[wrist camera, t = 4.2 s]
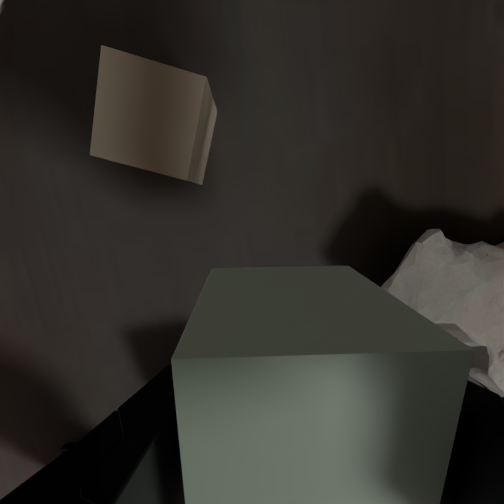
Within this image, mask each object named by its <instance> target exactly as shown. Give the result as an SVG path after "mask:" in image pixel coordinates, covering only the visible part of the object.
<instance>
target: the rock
mask: <svg viewBox="0 0 504 504" xmlns="http://www.w3.org/2000/svg"><path fill="white" fill-rule="evenodd" d="M381 288H382V289H384V290H385V291H387V292H388V293H390V294H391V295H393V296H394V297H396V298H397V299H399V300H400V301H402V302H403V303H405V304H406V305H408V306H409V307H411V308H412V309H414V310H415V311H417V312H418V313H420V314H421V315H423V316H424V317H426V318H427V319H429V320H430V321H432V322H433V323H435V324H436V325H438V326H439V327H441V328H442V329H443V330H445V331H446V332H448V333H449V334H451V335H452V336H454V337H455V338H457V339H458V340H460V341H461V342H463V343H464V344H466V345H467V346H469V347H470V348H472V349H473V350H474V353H473V358H472V362H471V367H470V371H469V375H470V377H472V378H474V379H475V380H477V381H479V382H480V383H482V384H483V385H485V386H486V387H487V388H489V389H490V390H491V391H492V392H494V393H497V394H499V395H500V396H501V397H504V242H503V243H501V244H498V245H496V246H493V245H489V244H487V243H485V242H483V241H480V242H477V243H473V244H462V243H458V242H454V241H451V240H449V239H447V238H445V237H444V234H443V232H442V231H441V230H440V229H429V230H426V232H425V233H424V234H423V235H422V236H421V237H420V238H419V239H418V240H417V241H416V242H414V243H413V244H412V246H411V247H410V249H409V250H408V252H407V253H406V255H405V256H404V258H403V260H402V261H401V263H400V264H399V266H398V268H397V269H396V271H395V272H394V274H393V275H392V276H391V277H390V278H389V279H388V280H387V281H386V282H385V283H384V284H383V285H382V286H381ZM501 309H502V310H501ZM502 350H503V351H502ZM501 356H502V357H501Z"/></svg>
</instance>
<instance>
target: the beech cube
mask: <svg viewBox="0 0 504 504" xmlns="http://www.w3.org/2000/svg"><path fill="white" fill-rule="evenodd" d="M216 115H217V109H216V106H215V102H214V99H213V96H212V93H211V89H210V86H209V83H208V80H207V77H205V76H202V75H199V74H196V73H192V72H189V71H186V70H182V69H179V68H176V67H172V66H169V65H166V64H163V63H159V62H156V61H153V60H149V59H146V58H143V57H139V56H136V55H133V54H130V53H126V52H123V51H120V50H116V49H113V48H110V47H106V46H103V45H101V52H100V62H99V71H98V81H97V90H96V100H95V109H94V119H93V128H92V138H91V147H90V155H91V156H95V157H99V158H103V159H106V160H110V161H114V162H118V163H121V164H125V165H129V166H133V167H136V168H140V169H144V170H148V171H152V172H155V173H159V174H163V175H167V176H171V177H174V178H178V179H182V180H186V181H190V182H194V183H197V184H201V185H202V184H203V179H204V174H205V169H206V164H207V159H208V154H209V149H210V144H211V139H212V135H213V130H214V125H215V120H216Z"/></svg>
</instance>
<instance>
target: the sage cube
mask: <svg viewBox="0 0 504 504" xmlns="http://www.w3.org/2000/svg"><path fill="white" fill-rule="evenodd" d="M473 353H474V350H473V349H472V348H470V347H469V346H467V345H466V344H464V343H463V342H461V341H460V340H458V339H457V338H455V337H454V336H452V335H451V334H449V333H448V332H446V331H445V330H443V329H442V328H441V327H439V326H438V325H436V324H435V323H433V322H432V321H430V320H429V319H427V318H426V317H424V316H423V315H421V314H420V313H418V312H417V311H415V310H414V309H412V308H411V307H409V306H408V305H406V304H405V303H403V302H402V301H400V300H399V299H397V298H396V297H394V296H393V295H391V294H390V293H388V292H387V291H385V290H384V289H382V288H381V287H379V286H378V285H376V284H375V283H373V282H372V281H370V280H369V279H367V278H366V277H364V276H363V275H361V274H360V273H358V272H357V271H355V270H354V269H352V268H351V267H350V266H305V267H253V268H211V271H210V273H209V275H208V277H207V280H206V282H205V284H204V286H203V289H202V291H201V293H200V295H199V298H198V300H197V302H196V304H195V307H194V309H193V311H192V313H191V316H190V318H189V320H188V322H187V325H186V327H185V329H184V331H183V334H182V336H181V338H180V340H179V343H178V345H177V347H176V349H175V352H174V354H173V356H172V358H171V364H172V374H173V384H174V395H175V405H176V415H177V425H178V435H179V445H180V455H181V466H182V476H183V486H184V496H185V504H440V501H441V496H442V492H443V487H444V483H445V478H446V474H447V469H448V465H449V461H450V456H451V452H452V447H453V443H454V438H455V434H456V429H457V425H458V420H459V416H460V411H461V407H462V403H463V398H464V394H465V389H466V385H467V380H468V376H469V371H470V367H471V362H472V358H473Z"/></svg>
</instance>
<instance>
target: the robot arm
mask: <svg viewBox="0 0 504 504" xmlns="http://www.w3.org/2000/svg"><path fill="white" fill-rule="evenodd" d="M59 455H60V456H58V457H57V458H56V459H54V460H53V461H52V462H50V463H49V464H48V465H46V466H45V467H44V468H42V469H41V470H40V471H38V472H37V473H36V474H34V475H33V476H32V477H30V478H29V479H28V480H26V481H25V482H24V483H22V484H21V485H20V486H18V487H17V488H15V489H14V490H13V491H11V492H10V493H9V494H7V495H6V496H5V497H3V498H2V499H1V500H0V504H185V496H184V486H183V476H182V466H181V455H180V445H179V435H178V425H177V415H176V405H175V395H174V384H173V374H172V364H171V363H170V364H169V365H168V366H167V367H166V368H164V369H163V370H162V371H161V372H160V373H159V374H157V375H156V376H155V377H154V378H153V379H152V380H150V381H149V382H148V383H147V384H146V385H145V386H143V387H142V388H141V389H140V390H139V391H138V392H136V393H135V394H134V395H133V396H132V397H130V398H129V399H128V400H127V401H126V402H125V403H123V404H122V405H121V406H120V407H119V408H118V409H117V411H114V412H113V413H112V414H110V415H109V416H108V417H107V418H106V419H105V420H103V421H102V422H101V423H100V424H99V425H97V426H96V427H95V428H94V429H93V430H91V431H90V432H89V433H88V434H86V435H85V436H84V437H83V438H82V439H80V440H79V441H78V442H76V443H75V444H67V445H64V446H63V447H62V448H61V450H60V451H59ZM440 504H504V397H501V396H500V395H499V394H497V393H494V392H492V391H490V390H488V389H486V388H484V387H482V386H480V385H477V384H475V383H473V382H471V381H469V380H467V385H466V389H465V394H464V398H463V403H462V407H461V411H460V416H459V420H458V425H457V429H456V434H455V438H454V443H453V447H452V452H451V456H450V461H449V465H448V469H447V474H446V478H445V483H444V487H443V492H442V496H441V501H440Z"/></svg>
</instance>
